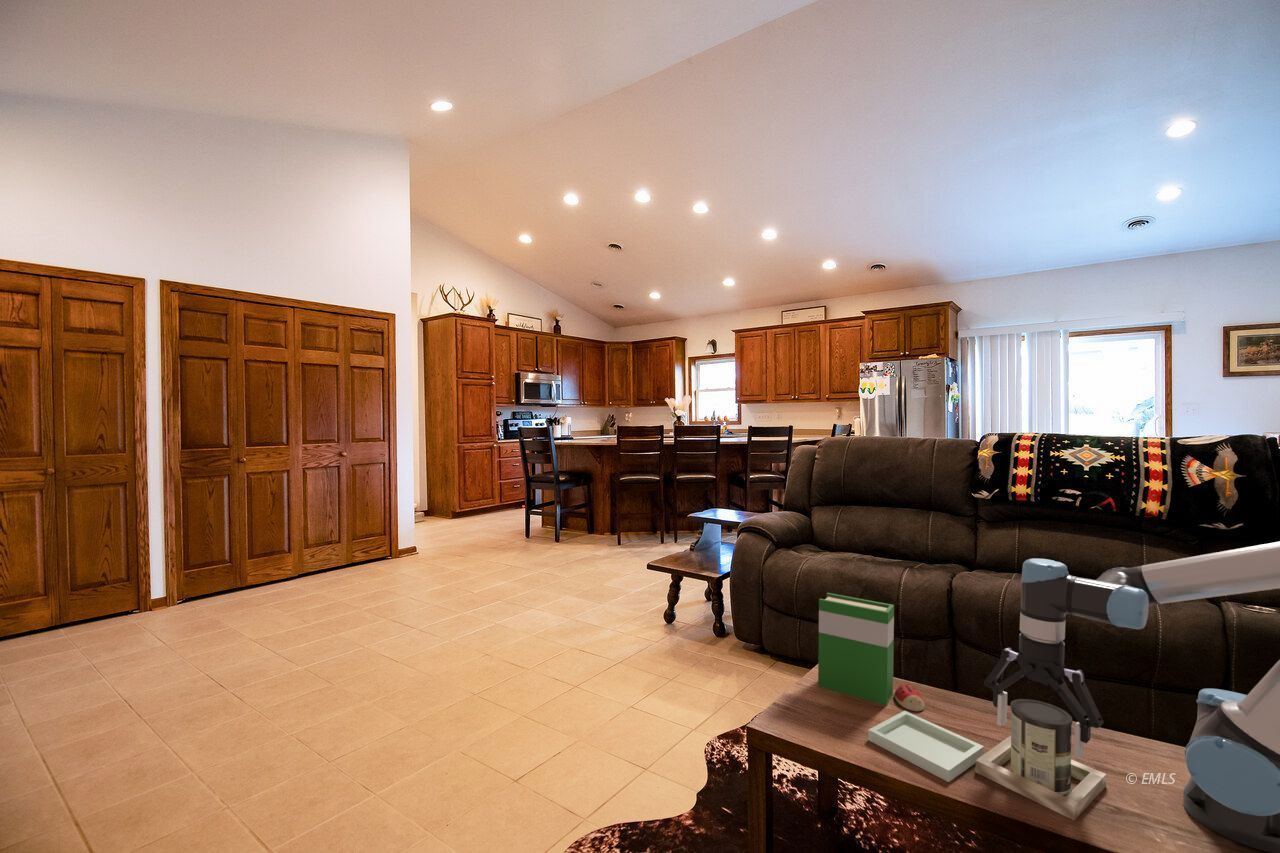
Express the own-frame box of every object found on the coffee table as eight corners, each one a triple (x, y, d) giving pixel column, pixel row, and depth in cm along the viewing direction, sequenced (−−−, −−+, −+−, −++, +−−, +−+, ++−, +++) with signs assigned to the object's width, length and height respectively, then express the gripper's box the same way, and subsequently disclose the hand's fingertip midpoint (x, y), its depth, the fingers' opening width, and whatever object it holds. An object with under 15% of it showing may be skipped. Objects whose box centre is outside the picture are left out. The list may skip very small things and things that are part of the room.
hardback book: (818, 686, 154) (819, 599, 154) (826, 676, 160) (827, 592, 160) (886, 705, 144) (887, 612, 143) (892, 694, 150) (894, 605, 149)
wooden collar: (1106, 786, 112) (1106, 774, 112) (1074, 820, 103) (1074, 807, 103) (1011, 745, 126) (1011, 734, 126) (975, 772, 117) (975, 760, 117)
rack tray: (983, 757, 122) (983, 746, 122) (948, 782, 113) (948, 770, 113) (904, 720, 137) (904, 710, 137) (868, 740, 128) (868, 729, 128)
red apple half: (904, 712, 141) (904, 698, 141) (888, 693, 151) (888, 680, 150) (931, 713, 140) (931, 699, 140) (913, 694, 150) (913, 681, 150)
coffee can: (1054, 767, 118) (1055, 701, 118) (1082, 799, 108) (1083, 727, 108) (1000, 761, 121) (1001, 696, 120) (1023, 792, 110) (1024, 721, 110)
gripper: (1126, 654, 106) (1122, 764, 106) (984, 614, 126) (981, 706, 127) (1112, 663, 102) (1108, 778, 102) (968, 620, 122) (965, 716, 123)
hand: (1038, 739), depth 115 cm, fingers open, 13 cm apart
